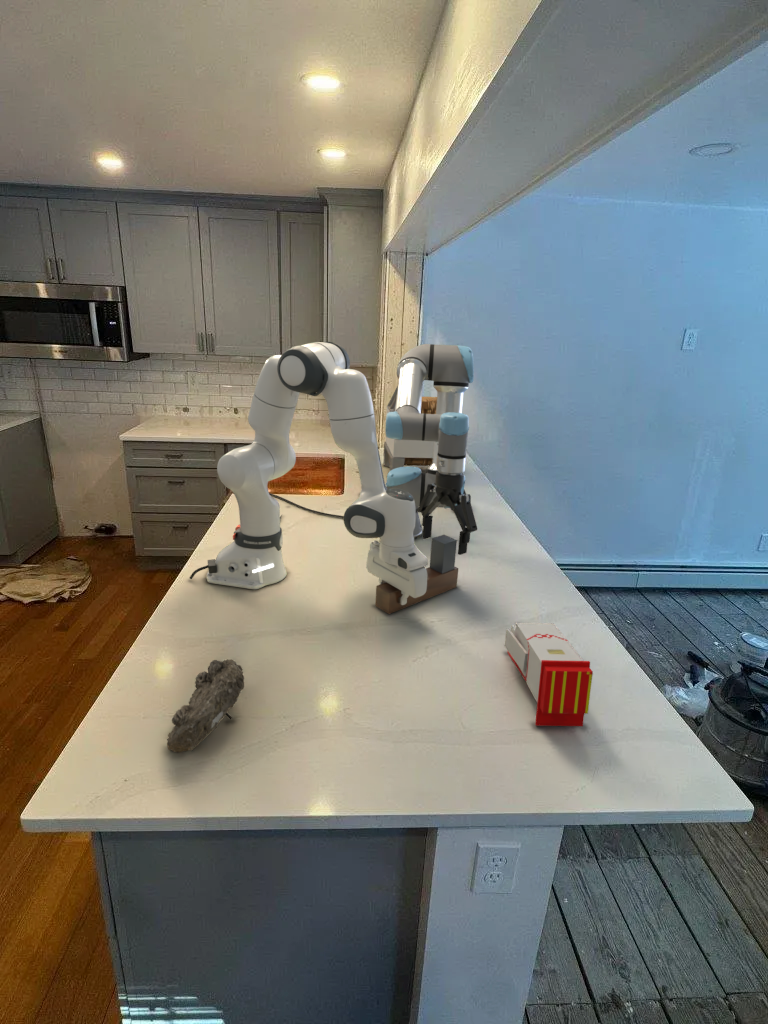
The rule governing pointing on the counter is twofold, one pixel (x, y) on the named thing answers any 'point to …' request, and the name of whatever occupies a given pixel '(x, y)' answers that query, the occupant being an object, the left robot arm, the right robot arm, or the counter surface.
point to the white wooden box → (409, 441)
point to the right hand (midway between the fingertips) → (443, 545)
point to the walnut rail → (435, 586)
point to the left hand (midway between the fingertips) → (393, 598)
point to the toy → (551, 672)
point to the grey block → (443, 553)
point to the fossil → (206, 705)
